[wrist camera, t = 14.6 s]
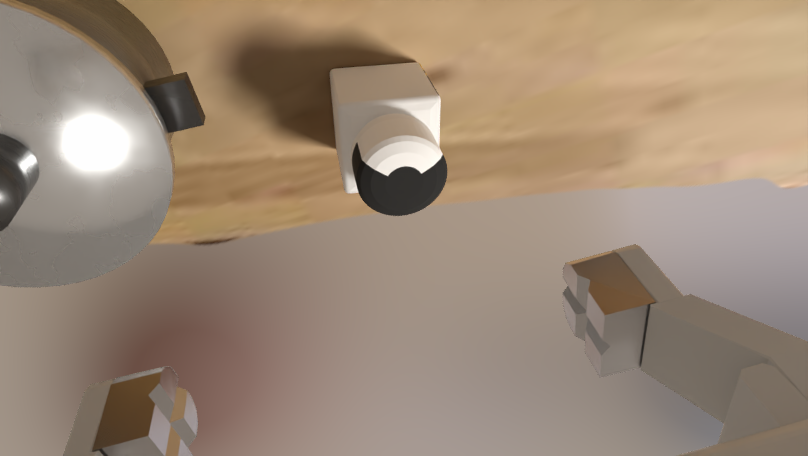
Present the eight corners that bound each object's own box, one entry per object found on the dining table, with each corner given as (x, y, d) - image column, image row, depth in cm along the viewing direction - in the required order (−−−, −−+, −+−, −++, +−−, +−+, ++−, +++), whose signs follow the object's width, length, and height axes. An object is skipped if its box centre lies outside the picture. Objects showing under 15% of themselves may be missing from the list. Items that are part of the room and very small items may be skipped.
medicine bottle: (419, 142, 48) (455, 222, 38) (336, 150, 47) (352, 234, 37) (420, 60, 44) (461, 127, 34) (328, 67, 43) (344, 138, 33)
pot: (-190, 1, 34) (-330, 56, 26) (157, -74, 35) (124, -43, 28) (-21, 217, 45) (-84, 304, 37) (245, 154, 46) (240, 225, 38)
